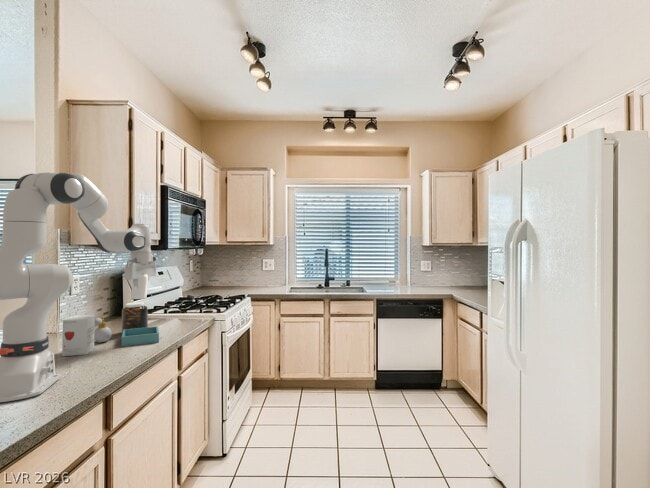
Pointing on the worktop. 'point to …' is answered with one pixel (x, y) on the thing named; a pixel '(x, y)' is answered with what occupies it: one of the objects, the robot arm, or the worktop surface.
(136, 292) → the can
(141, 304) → the jar
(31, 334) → the robot arm
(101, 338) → the perfume bottle
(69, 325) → the supplement box
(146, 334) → the bin
